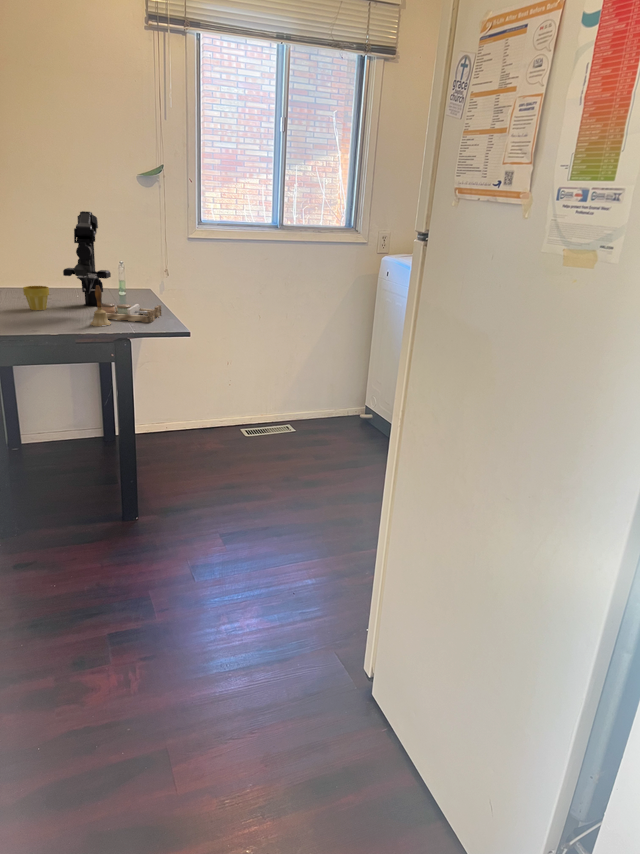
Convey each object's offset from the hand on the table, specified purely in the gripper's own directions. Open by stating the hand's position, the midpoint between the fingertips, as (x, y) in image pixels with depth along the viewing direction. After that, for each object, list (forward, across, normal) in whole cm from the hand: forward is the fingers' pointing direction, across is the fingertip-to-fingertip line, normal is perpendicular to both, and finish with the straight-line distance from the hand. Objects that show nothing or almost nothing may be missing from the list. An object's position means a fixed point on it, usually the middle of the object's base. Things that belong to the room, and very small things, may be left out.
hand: (88, 293), depth 270 cm
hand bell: (+9, +12, -18) cm, 23 cm away
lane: (+9, +19, 0) cm, 21 cm away
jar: (+9, +8, 0) cm, 12 cm away
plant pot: (+10, -24, +3) cm, 26 cm away
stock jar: (+9, +16, 0) cm, 18 cm away
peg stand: (+9, +23, 0) cm, 24 cm away
